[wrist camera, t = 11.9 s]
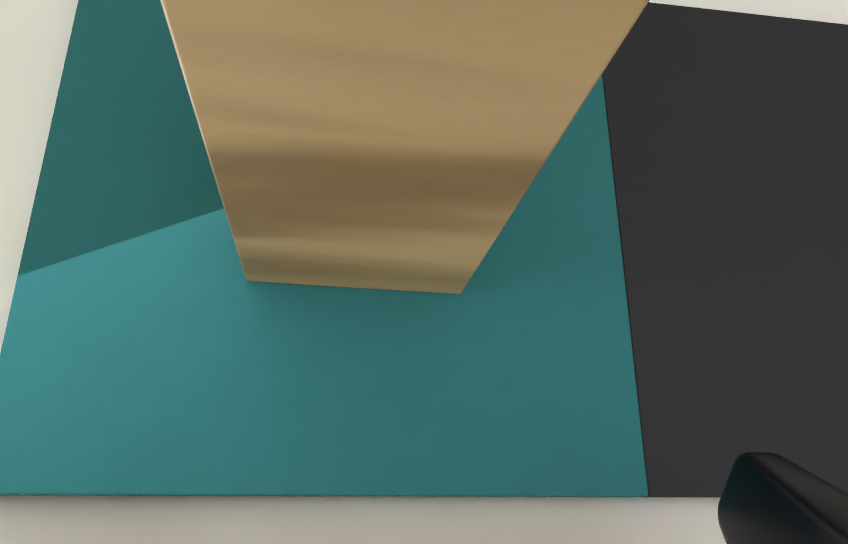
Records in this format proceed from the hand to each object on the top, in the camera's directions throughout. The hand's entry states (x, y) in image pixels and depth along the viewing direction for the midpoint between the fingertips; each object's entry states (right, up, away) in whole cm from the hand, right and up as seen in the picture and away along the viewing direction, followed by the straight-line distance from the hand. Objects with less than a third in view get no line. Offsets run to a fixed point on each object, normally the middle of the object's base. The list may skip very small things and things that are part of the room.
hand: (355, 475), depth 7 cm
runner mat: (+7, +4, +10) cm, 13 cm away
